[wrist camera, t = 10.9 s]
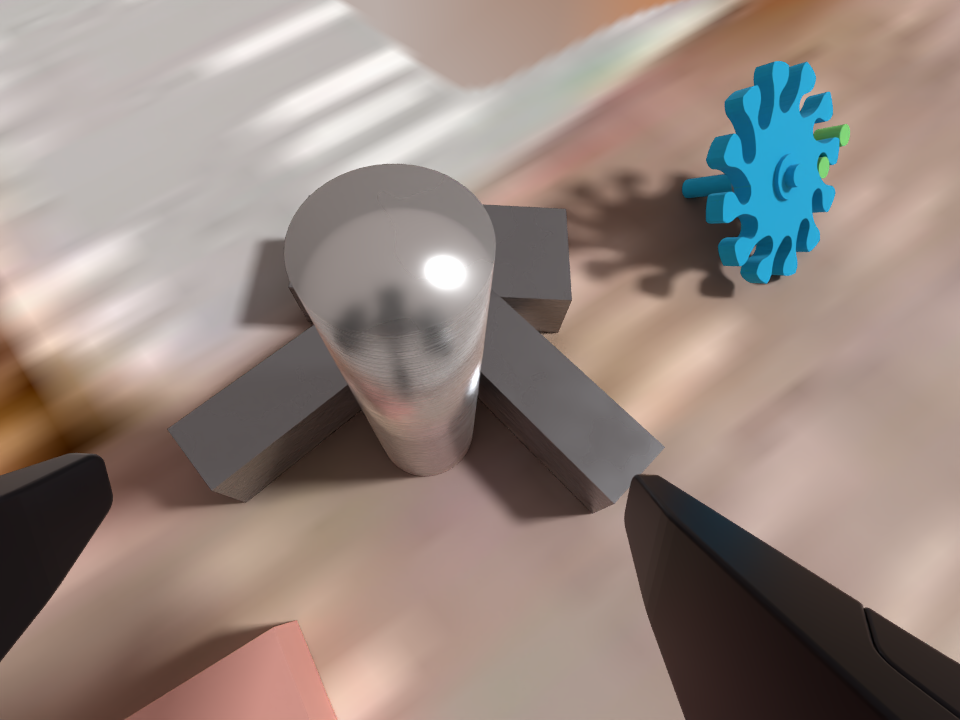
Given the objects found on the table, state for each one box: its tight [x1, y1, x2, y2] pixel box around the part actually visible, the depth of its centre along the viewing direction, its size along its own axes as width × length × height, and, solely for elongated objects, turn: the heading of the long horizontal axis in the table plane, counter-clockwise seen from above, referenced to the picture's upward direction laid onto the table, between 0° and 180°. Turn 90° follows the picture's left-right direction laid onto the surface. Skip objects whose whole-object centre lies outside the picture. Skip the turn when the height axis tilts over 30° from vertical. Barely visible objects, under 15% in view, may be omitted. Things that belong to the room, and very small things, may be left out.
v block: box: [167, 195, 665, 514], centre depth 21 cm, size 13×18×3 cm
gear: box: [682, 61, 850, 284], centre depth 25 cm, size 11×6×10 cm
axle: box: [284, 164, 496, 476], centre depth 15 cm, size 4×4×13 cm
